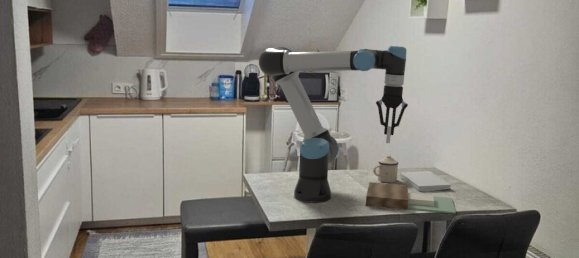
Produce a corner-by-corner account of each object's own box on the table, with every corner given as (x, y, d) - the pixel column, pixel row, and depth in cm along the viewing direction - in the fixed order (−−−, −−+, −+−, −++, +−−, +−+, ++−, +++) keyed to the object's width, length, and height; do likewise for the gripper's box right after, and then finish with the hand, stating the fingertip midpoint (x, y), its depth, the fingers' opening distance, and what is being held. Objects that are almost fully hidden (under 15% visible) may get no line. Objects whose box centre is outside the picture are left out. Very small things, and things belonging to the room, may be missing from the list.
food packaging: (449, 191, 231) (429, 178, 250) (450, 184, 230) (429, 171, 249) (418, 193, 228) (399, 179, 247) (418, 186, 227) (400, 172, 246)
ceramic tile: (407, 203, 209) (408, 198, 208) (407, 197, 216) (407, 192, 216) (433, 206, 207) (434, 201, 206) (432, 199, 215) (432, 195, 214)
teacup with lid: (390, 176, 249) (392, 152, 247) (401, 182, 240) (402, 157, 238) (368, 178, 245) (369, 154, 243) (377, 184, 236) (379, 158, 234)
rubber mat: (407, 209, 204) (407, 207, 204) (406, 195, 221) (407, 193, 221) (455, 213, 200) (455, 212, 200) (451, 199, 218) (451, 197, 218)
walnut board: (365, 205, 206) (366, 196, 206) (368, 191, 226) (369, 182, 225) (407, 209, 203) (408, 200, 202) (406, 194, 222) (407, 185, 222)
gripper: (376, 84, 209) (371, 142, 213) (410, 87, 206) (403, 146, 210) (378, 82, 216) (372, 139, 220) (410, 85, 213) (404, 142, 218)
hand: (387, 142), depth 215 cm, fingers closed
